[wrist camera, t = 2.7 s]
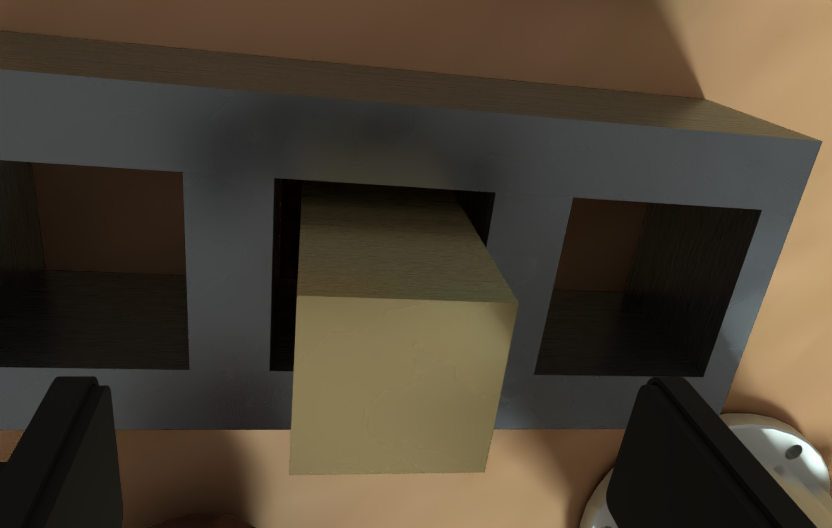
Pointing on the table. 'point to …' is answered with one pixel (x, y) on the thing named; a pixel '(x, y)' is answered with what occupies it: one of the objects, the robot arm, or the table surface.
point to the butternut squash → (204, 522)
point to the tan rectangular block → (395, 333)
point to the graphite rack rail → (380, 165)
